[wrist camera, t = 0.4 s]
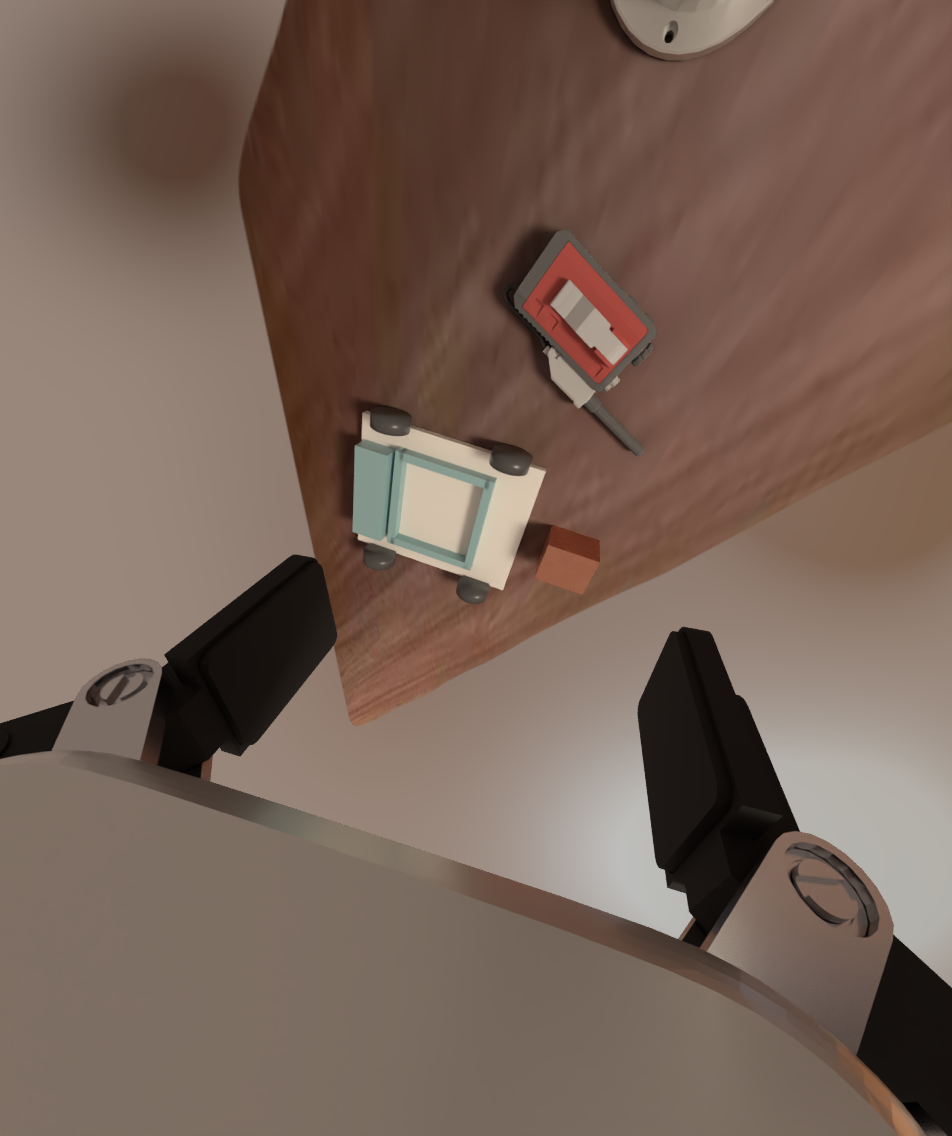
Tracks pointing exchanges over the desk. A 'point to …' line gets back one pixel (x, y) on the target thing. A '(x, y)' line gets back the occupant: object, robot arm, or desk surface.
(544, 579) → the orange-brown block
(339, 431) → the desk surface
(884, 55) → the desk surface
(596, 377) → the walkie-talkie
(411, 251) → the desk surface
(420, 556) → the chassis
